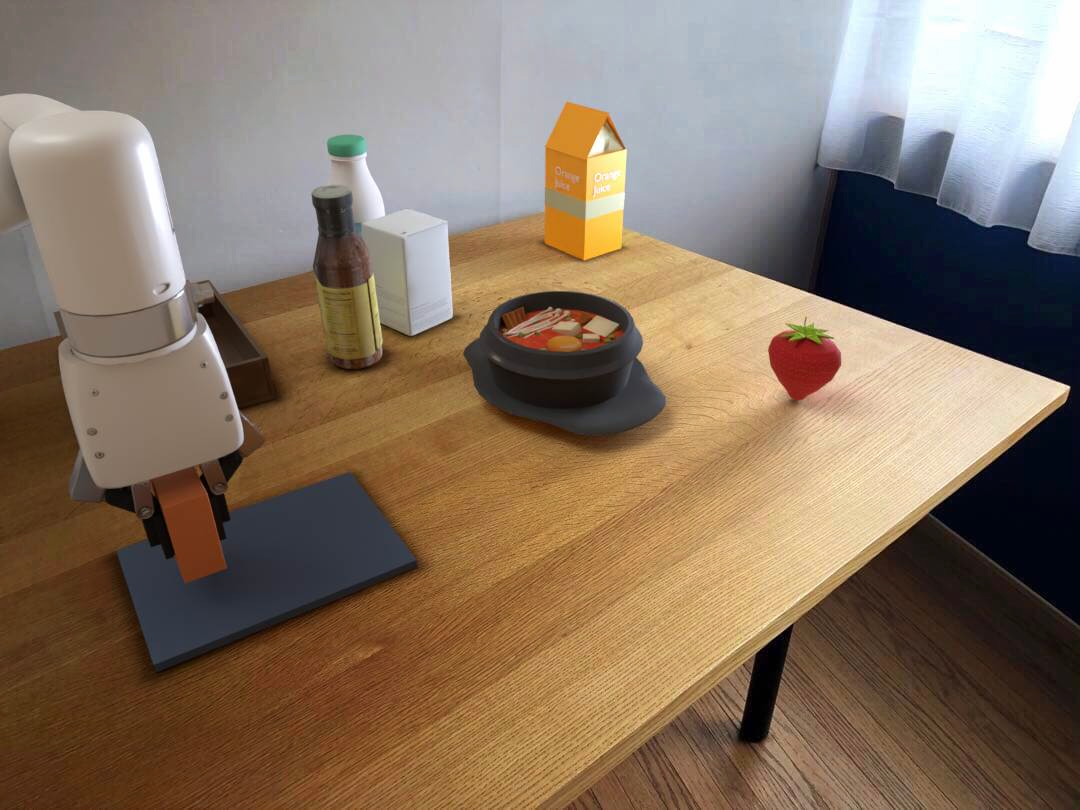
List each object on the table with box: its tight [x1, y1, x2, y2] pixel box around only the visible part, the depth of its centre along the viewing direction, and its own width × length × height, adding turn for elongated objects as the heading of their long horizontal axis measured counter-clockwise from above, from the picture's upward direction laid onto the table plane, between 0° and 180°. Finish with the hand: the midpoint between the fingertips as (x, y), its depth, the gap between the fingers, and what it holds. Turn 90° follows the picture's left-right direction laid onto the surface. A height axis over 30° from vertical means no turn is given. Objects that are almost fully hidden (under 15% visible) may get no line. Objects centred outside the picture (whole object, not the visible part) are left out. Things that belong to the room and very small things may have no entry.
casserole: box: [462, 290, 667, 437], centre depth 90 cm, size 25×19×8 cm
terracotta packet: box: [150, 466, 227, 583], centre depth 63 cm, size 3×6×7 cm, turn 33°
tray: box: [52, 279, 277, 410], centre depth 94 cm, size 17×23×5 cm
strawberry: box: [767, 315, 842, 401], centre depth 88 cm, size 6×8×10 cm
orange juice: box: [544, 101, 628, 261], centre depth 123 cm, size 8×9×20 cm
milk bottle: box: [326, 134, 386, 240], centre depth 109 cm, size 8×8×20 cm
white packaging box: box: [362, 208, 454, 337], centre depth 104 cm, size 7×7×13 cm
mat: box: [115, 471, 418, 673], centre depth 69 cm, size 20×14×1 cm
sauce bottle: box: [311, 185, 384, 370], centre depth 93 cm, size 6×6×20 cm
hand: (191, 537), depth 64 cm, fingers closed on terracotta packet, 3 cm apart
